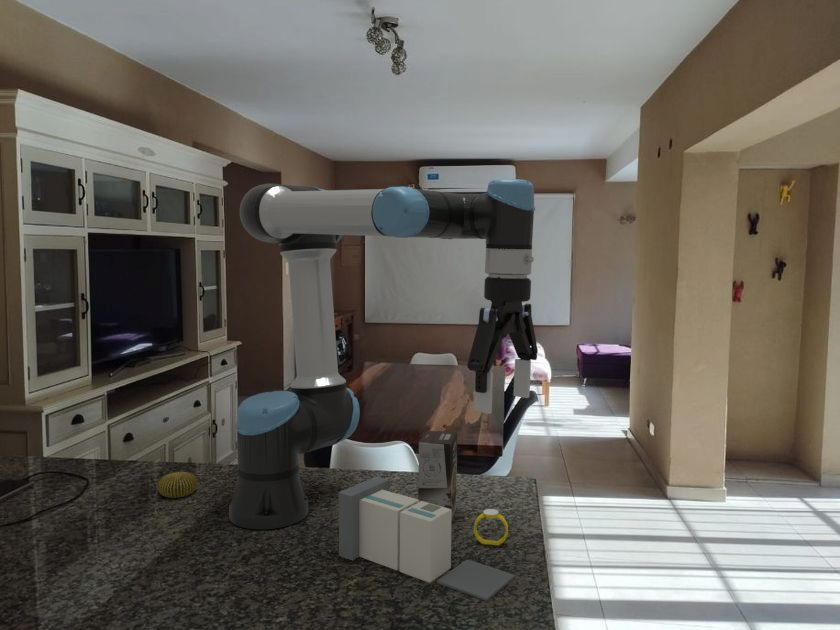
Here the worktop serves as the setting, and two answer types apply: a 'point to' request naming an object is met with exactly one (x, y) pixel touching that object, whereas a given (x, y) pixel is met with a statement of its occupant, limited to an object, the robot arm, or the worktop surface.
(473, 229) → the robot arm
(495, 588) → the mat
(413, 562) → the stub
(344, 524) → the pad
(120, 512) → the worktop surface
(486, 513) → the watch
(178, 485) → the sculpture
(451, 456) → the coffee box
